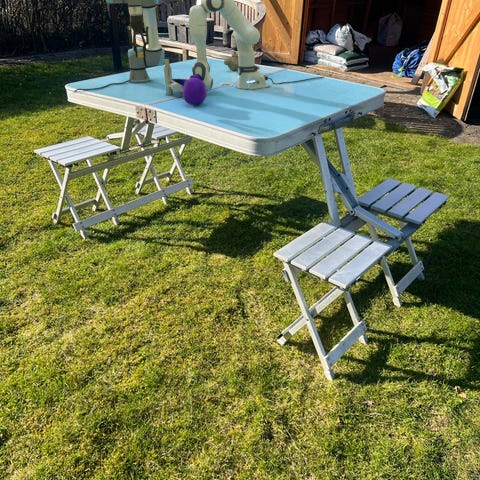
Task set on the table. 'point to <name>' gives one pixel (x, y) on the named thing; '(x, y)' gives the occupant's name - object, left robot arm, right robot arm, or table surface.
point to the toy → (193, 89)
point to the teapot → (232, 62)
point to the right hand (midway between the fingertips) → (167, 84)
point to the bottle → (168, 77)
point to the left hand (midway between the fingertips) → (140, 56)
